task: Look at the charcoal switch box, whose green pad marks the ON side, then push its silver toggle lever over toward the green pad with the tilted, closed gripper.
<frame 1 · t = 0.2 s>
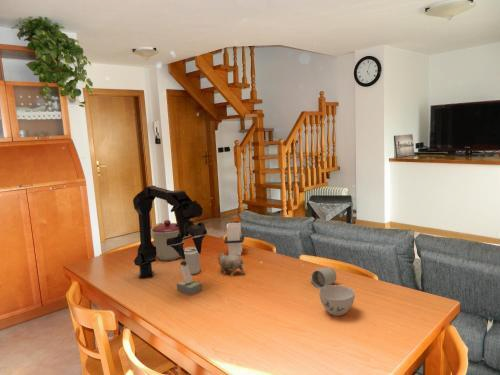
hand: (192, 256, 163), 15 cm above the table, tool pointing down, fingers open, 9 cm apart
toggle lever: (185, 271, 165), point 8 cm above the table, hinge at -20.0°
can: (192, 272, 188), on the table
teacup: (338, 311, 140), on the table
canister: (170, 258, 212), on the table
switch box: (190, 290, 166), on the table
ceramic mug: (321, 285, 164), on the table
rhinoceros figurine: (229, 272, 185), on the table
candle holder: (235, 254, 213), on the table
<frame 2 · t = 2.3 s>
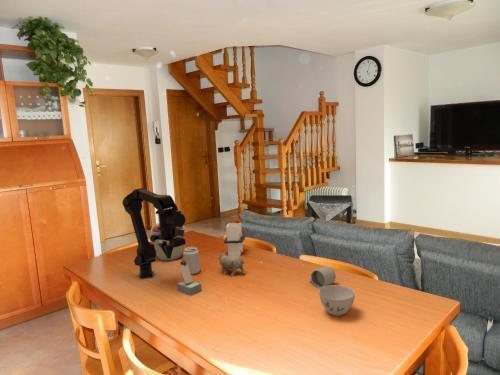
hand: (169, 258, 173), 12 cm above the table, tool pointing down, fingers closed
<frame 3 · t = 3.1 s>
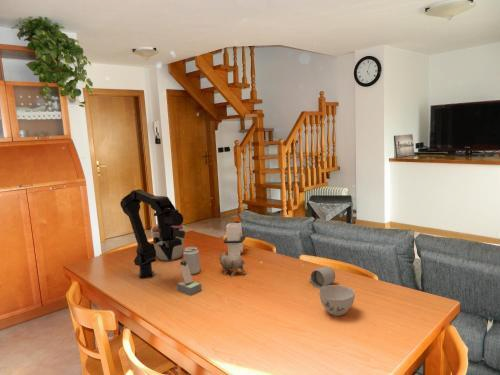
hand: (170, 259, 172), 11 cm above the table, tool pointing down, fingers closed
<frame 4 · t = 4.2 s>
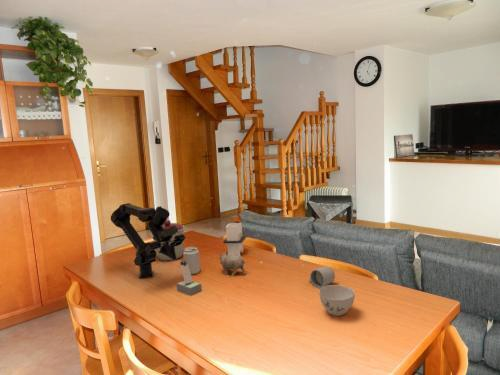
hand: (175, 259, 169), 12 cm above the table, tool tilted 45°, fingers closed
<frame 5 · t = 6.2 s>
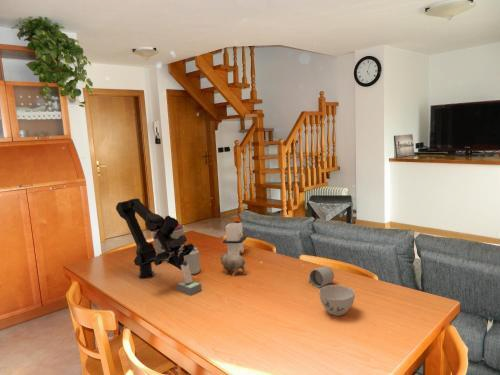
hand: (184, 270, 166), 9 cm above the table, tool tilted 45°, fingers closed, pressing on toggle lever
toggle lever: (186, 271, 165), point 8 cm above the table, hinge at -17.4°, touching gripper
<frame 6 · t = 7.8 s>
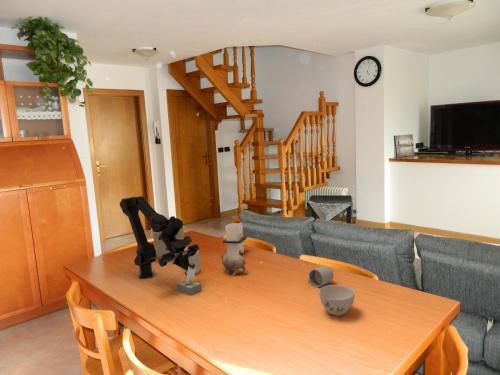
hand: (189, 271, 164), 9 cm above the table, tool tilted 45°, fingers closed
toggle lever: (191, 273, 163), point 8 cm above the table, hinge at 19.0°
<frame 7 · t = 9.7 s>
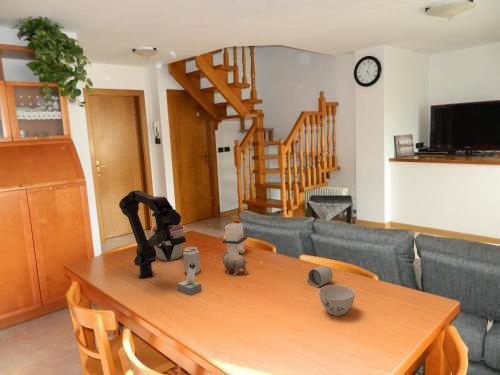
hand: (168, 260, 173), 11 cm above the table, tool pointing down, fingers closed
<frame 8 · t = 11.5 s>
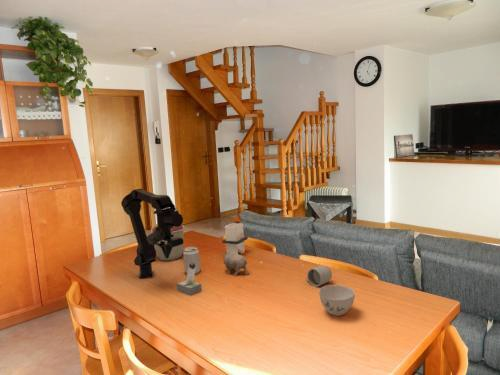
hand: (167, 258, 173), 12 cm above the table, tool pointing down, fingers closed
at the end: toggle lever at +19° (first picture: -20°) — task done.
